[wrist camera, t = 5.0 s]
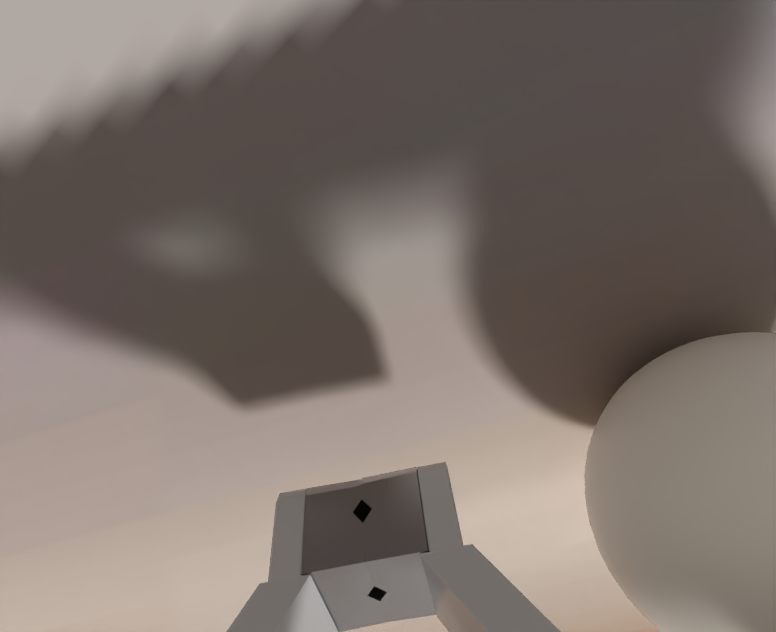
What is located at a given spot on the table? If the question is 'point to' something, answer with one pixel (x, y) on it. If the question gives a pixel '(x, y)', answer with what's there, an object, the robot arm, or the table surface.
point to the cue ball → (692, 486)
